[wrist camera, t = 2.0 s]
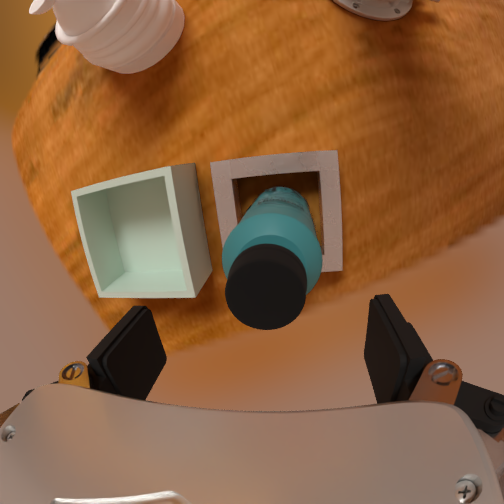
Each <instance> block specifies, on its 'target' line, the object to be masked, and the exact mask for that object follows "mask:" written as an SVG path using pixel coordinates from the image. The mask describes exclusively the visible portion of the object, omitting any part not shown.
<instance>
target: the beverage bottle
mask: <svg viewBox="0 0 504 504" xmlns="http://www.w3.org/2000/svg"><path fill="white" fill-rule="evenodd" d="M290 188H291V187H290ZM290 188H286V187H273V188H271V189H267V190H266V189H265V192H263V193H262V194H261V193H260V194H261V195H260V194H259V195H260V196H259V195H258V196H259V197H258V198H257V199H256V198H255V199H256V201H255V202H254V201H253V202H254V203H253V202H252V203H253V205H252V204H251V205H252V206H250V207H249V208H248V209H247V212H246V211H245V212H246V214H245V215H244V216H243V218H242V219H241V221H240V222H239V224H238V223H237V224H238V225H237V226H236V227H235V228H234V229H233V230H232V231H231V233H230V234H229V236H228V237H227V239H226V242H225V244H224V247H223V252H222V265H223V269H224V273H225V275H226V278H227V279H228V280H227V283H226V288H225V296H226V301H227V304H228V307H229V309H230V311H231V312H232V313H233V315H234V316H235V317H236V318H237V319H238V320H239V321H241V322H242V323H244V324H245V325H247V326H250V327H252V328H256V329H261V330H272V329H277V328H281V327H284V326H286V325H288V324H289V323H291V322H292V321H293V320H295V319H296V318H297V317H298V315H299V314H300V312H301V311H302V309H303V307H304V304H305V299H306V295H307V294H308V293H309V292H310V291H311V290H312V288H313V287H314V286H315V284H316V283H317V281H318V279H319V277H320V274H321V270H322V262H323V259H322V252H321V247H320V244H319V242H318V239H317V237H316V232H315V226H316V225H315V223H313V220H314V219H313V220H312V218H311V214H310V211H309V208H310V206H309V205H307V204H308V203H307V201H306V200H304V199H305V198H303V197H302V196H301V194H299V193H300V192H299V193H297V192H296V191H294V190H293V189H290ZM255 199H254V200H255ZM308 206H309V208H308ZM242 215H243V214H242ZM312 216H313V215H312ZM238 221H239V220H238ZM314 222H315V221H314ZM314 225H315V226H314ZM317 232H318V231H317Z"/></svg>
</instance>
